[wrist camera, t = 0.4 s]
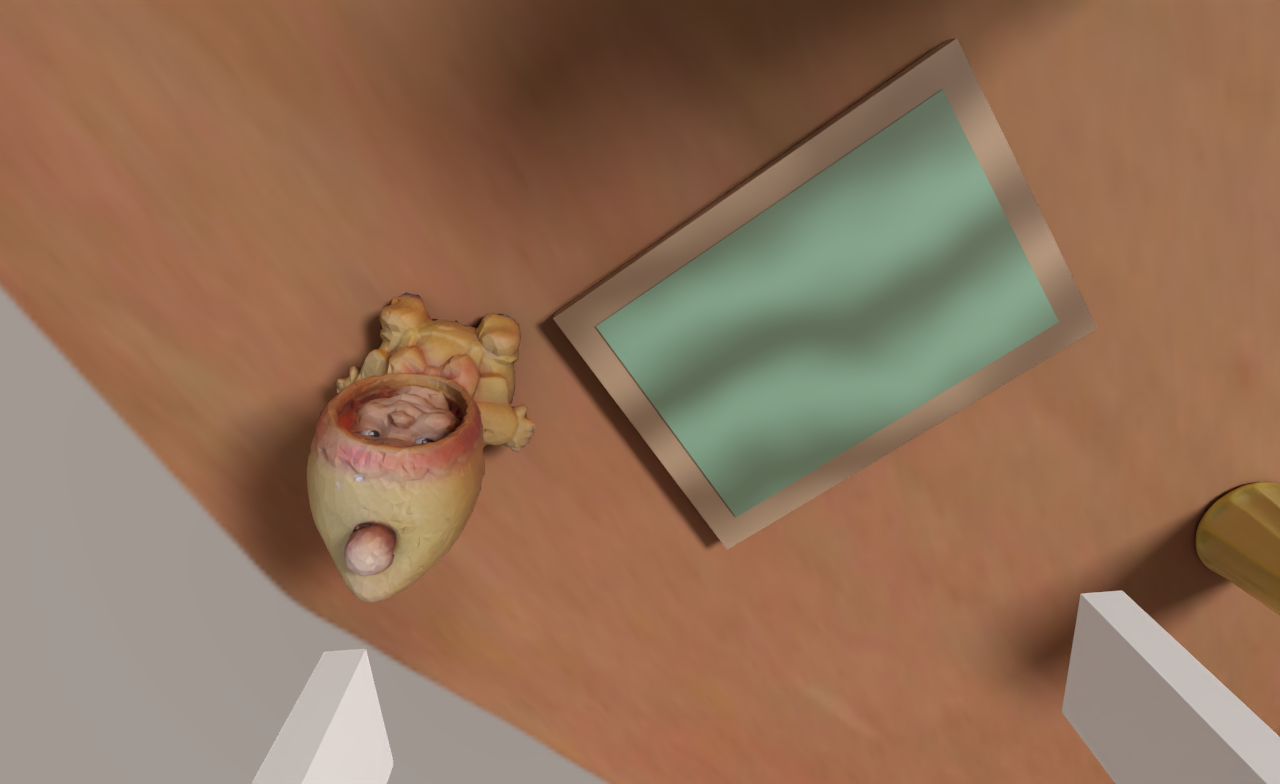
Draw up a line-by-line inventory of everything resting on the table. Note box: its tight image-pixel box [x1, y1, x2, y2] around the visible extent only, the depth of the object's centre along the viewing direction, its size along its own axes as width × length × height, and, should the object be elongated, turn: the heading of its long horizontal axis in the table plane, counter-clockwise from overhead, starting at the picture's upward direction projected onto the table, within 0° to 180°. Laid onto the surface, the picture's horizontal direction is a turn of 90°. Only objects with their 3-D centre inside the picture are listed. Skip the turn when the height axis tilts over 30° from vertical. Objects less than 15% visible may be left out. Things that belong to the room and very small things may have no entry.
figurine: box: [307, 293, 536, 602], centre depth 33 cm, size 10×8×15 cm
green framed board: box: [553, 38, 1098, 550], centre depth 37 cm, size 16×22×1 cm
